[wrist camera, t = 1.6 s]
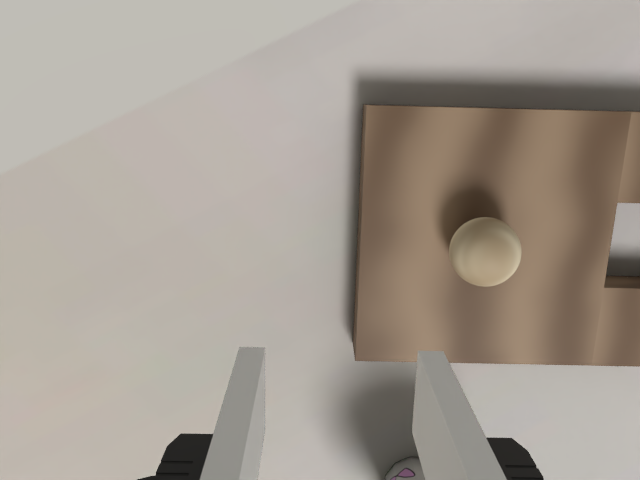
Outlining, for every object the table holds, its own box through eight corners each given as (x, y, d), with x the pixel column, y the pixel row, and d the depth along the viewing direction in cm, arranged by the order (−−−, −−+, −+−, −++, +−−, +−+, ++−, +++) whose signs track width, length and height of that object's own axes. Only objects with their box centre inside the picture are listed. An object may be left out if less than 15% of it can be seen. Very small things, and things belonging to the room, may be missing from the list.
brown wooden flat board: (748, 114, 35) (780, 115, 33) (699, 351, 39) (724, 368, 37) (363, 104, 35) (366, 105, 33) (352, 344, 39) (355, 360, 37)
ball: (511, 211, 34) (536, 226, 30) (504, 275, 35) (527, 297, 31) (445, 210, 34) (461, 224, 30) (440, 273, 35) (455, 295, 31)
